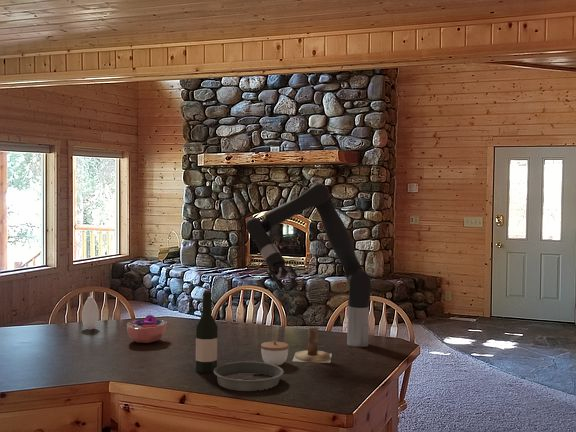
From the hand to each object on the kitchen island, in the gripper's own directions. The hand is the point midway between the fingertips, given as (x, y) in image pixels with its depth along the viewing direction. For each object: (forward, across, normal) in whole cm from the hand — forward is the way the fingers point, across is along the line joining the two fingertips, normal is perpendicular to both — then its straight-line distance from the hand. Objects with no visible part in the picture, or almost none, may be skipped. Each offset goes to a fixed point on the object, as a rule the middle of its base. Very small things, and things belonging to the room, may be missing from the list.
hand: (289, 287), depth 278 cm
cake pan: (+35, -41, +4) cm, 54 cm away
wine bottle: (+20, -43, +20) cm, 51 cm away
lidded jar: (+27, -18, +12) cm, 34 cm away
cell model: (-16, -33, +59) cm, 69 cm away
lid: (+29, 0, +8) cm, 30 cm away
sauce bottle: (-43, -38, +87) cm, 105 cm away
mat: (+29, 0, +8) cm, 30 cm away
